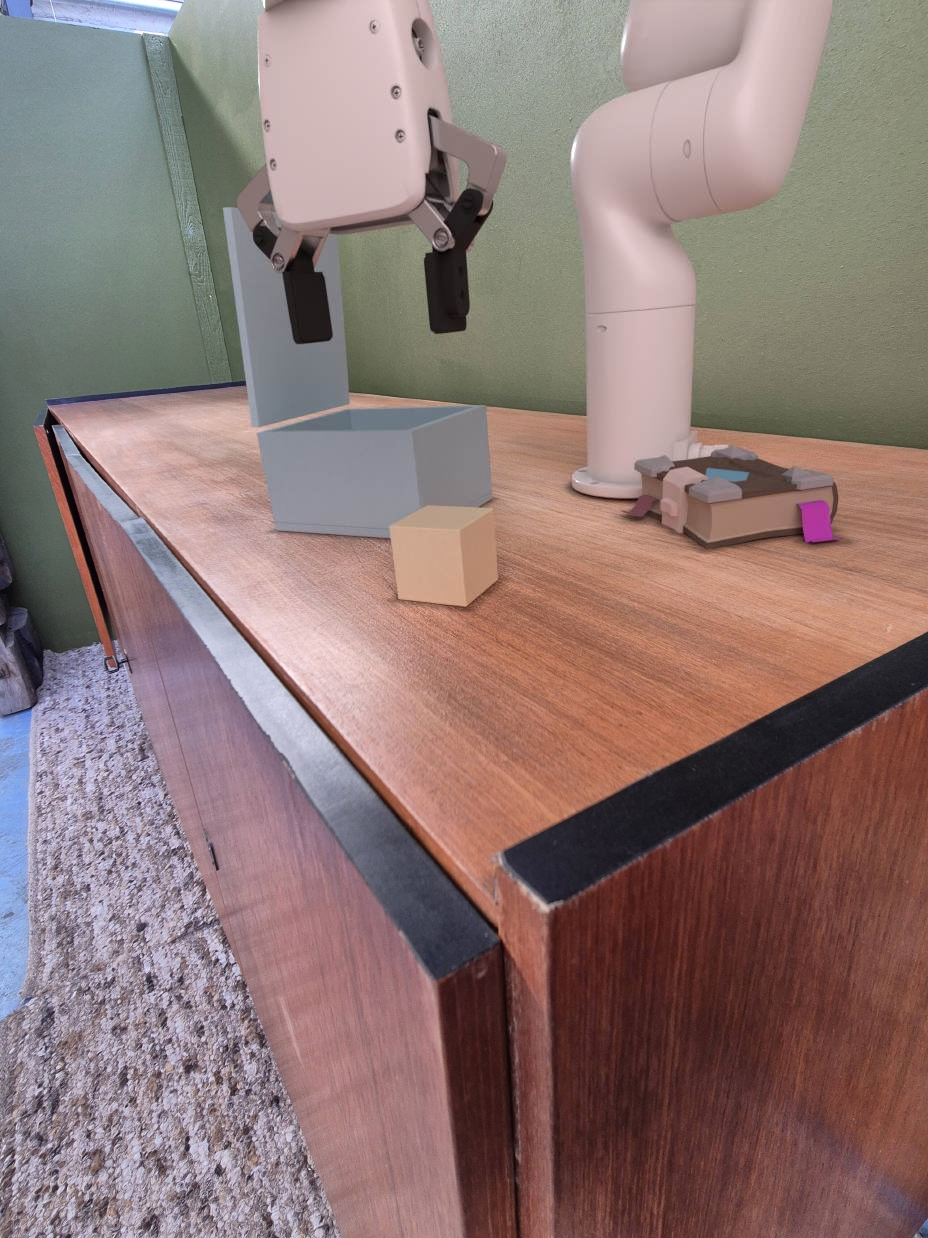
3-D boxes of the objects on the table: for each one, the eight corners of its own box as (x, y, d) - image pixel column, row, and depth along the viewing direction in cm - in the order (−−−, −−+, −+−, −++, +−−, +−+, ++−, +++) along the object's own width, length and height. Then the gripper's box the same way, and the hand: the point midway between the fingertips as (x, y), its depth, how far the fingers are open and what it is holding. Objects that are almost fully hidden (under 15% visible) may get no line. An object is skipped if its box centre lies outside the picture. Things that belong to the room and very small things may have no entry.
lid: (336, 218, 65) (296, 220, 67) (230, 206, 54) (185, 209, 56) (350, 403, 72) (313, 401, 74) (258, 427, 61) (218, 423, 63)
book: (590, 500, 66) (589, 446, 64) (711, 483, 68) (714, 430, 66) (698, 566, 48) (702, 493, 46) (859, 541, 50) (869, 469, 48)
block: (498, 579, 48) (493, 507, 46) (466, 607, 44) (459, 529, 42) (434, 573, 50) (427, 504, 49) (397, 599, 46) (388, 525, 44)
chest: (492, 498, 69) (486, 404, 65) (423, 541, 58) (411, 430, 54) (359, 493, 76) (347, 408, 72) (275, 530, 65) (256, 432, 61)
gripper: (523, -54, 35) (537, 324, 42) (257, 36, 43) (305, 341, 49) (450, -123, 29) (480, 331, 36) (156, -4, 37) (226, 350, 43)
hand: (378, 337), depth 42 cm, fingers open, 9 cm apart
